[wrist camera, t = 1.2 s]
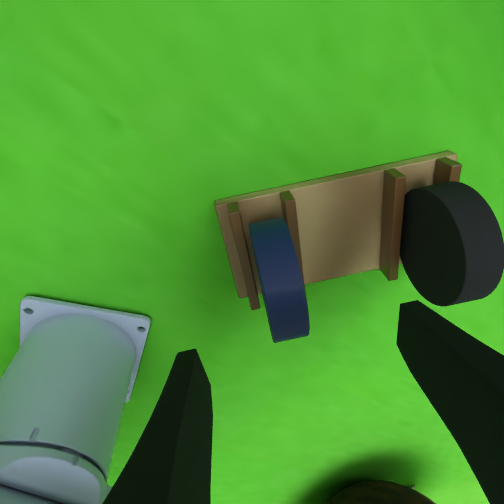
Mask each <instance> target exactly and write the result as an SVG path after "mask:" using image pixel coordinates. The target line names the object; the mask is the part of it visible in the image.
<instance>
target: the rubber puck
mask: <svg viewBox="0 0 504 504" xmlns="http://www.w3.org/2000/svg"><path fill="white" fill-rule="evenodd" d="M400 258H401V261H402V264H403V267H404V269H405V271H406V273H407V275H408V277H409V279H410V281H411V283H412V284H413V286H414V287H415V288H416V290H417V291H418V292H419V293H420V294H421V295H422V296H423V297H424V298H425V299H426V300H427V301H429V302H431V303H432V304H435V305H438V306H449V305H454V304H459V303H463V302H468V301H473V300H478V299H482V298H484V297H486V296H488V295H489V294H491V293H492V292H493V291H494V290H495V288H496V287H497V285H498V284H499V282H500V279H501V277H502V273H503V269H504V242H503V238H502V233H501V230H500V227H499V224H498V221H497V219H496V217H495V215H494V213H493V211H492V210H491V208H490V206H489V205H488V203H487V202H486V201H485V199H484V198H483V197H482V196H481V195H480V194H479V193H478V192H477V191H475V190H474V189H473V188H471V187H470V186H468V185H466V184H463V183H460V182H456V181H448V182H443V183H438V184H434V185H429V186H424V187H419V188H415V189H412V190H410V191H409V192H408V193H406V194H405V198H404V209H403V221H402V232H401V244H400Z"/></svg>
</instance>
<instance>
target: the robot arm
mask: <svg viewBox="0 0 504 504" xmlns="http://www.w3.org/2000/svg"><path fill="white" fill-rule="evenodd" d="M28 308H30V309H32V310H30V309H28ZM150 323H151V320H150V318H149V317H147V316H144V315H138V314H132V313H127V312H121V311H115V310H109V309H104V308H98V307H92V306H87V305H81V304H75V303H69V302H64V301H58V300H52V299H46V298H41V297H35V296H25V297H24V298H23V299H22V301H21V303H20V348H19V350H18V351H17V353H16V355H15V356H14V358H13V359H12V361H11V363H10V364H9V366H8V367H7V369H6V371H5V372H4V374H3V375H2V377H1V378H0V504H210V484H211V455H212V425H213V410H212V396H211V385H210V382H209V380H208V377H207V375H206V372H205V370H204V367H203V365H202V363H201V360H200V358H199V355H198V353H197V350H196V349H192V350H187V351H182V352H178V354H177V355H176V358H175V360H174V363H173V366H172V368H171V371H170V374H169V376H168V379H167V381H166V384H165V386H164V388H163V391H162V393H161V395H160V398H159V400H158V402H157V404H156V406H155V409H154V411H153V413H152V415H151V417H150V420H149V422H148V424H147V426H146V428H145V430H144V431H143V433H142V435H141V437H140V439H139V441H138V443H137V445H136V447H135V449H134V451H133V453H132V455H131V456H130V458H129V460H128V462H127V464H126V465H125V467H124V469H123V470H122V472H121V474H120V476H119V477H118V479H117V481H116V482H115V484H114V486H113V487H111V486H109V485H108V484H107V483H106V482H107V478H108V473H109V469H110V465H111V460H112V456H113V452H114V448H115V443H116V439H117V435H118V430H119V426H120V422H121V418H122V413H123V409H124V405H125V402H128V401H129V400H130V397H131V393H132V390H133V386H134V382H135V379H136V375H137V371H138V368H139V364H140V360H141V357H142V353H143V349H144V345H145V342H146V338H147V334H148V331H149V327H150ZM140 327H144V328H140ZM397 346H398V348H399V350H400V352H401V354H402V356H403V358H404V360H405V362H406V364H407V366H408V368H409V370H410V372H411V373H412V375H413V376H414V378H415V380H416V381H417V383H418V384H419V386H420V387H421V389H422V390H423V392H424V393H425V395H426V396H427V398H428V399H429V401H430V402H431V404H432V405H433V407H434V408H435V410H436V411H437V413H438V414H439V416H440V417H441V419H442V420H443V422H444V423H445V425H446V426H447V428H448V429H449V431H450V432H451V434H452V436H453V437H454V439H455V440H456V442H457V444H458V445H459V447H460V449H461V451H462V452H463V454H464V456H465V458H466V460H467V462H468V463H469V465H470V467H471V469H472V471H473V473H474V474H475V476H476V478H477V480H478V482H479V484H480V486H481V488H482V489H483V491H484V493H485V495H486V497H487V499H488V501H489V503H490V504H504V355H502V354H500V353H498V352H497V351H495V350H493V349H492V348H490V347H489V346H487V345H485V344H484V343H482V342H480V341H479V340H477V339H476V338H474V337H472V336H471V335H469V334H468V333H466V332H465V331H463V330H462V329H460V328H459V327H457V326H455V325H454V324H452V323H451V322H449V321H448V320H446V319H445V318H443V317H442V316H440V315H439V314H438V313H436V312H435V311H433V310H432V309H430V308H429V307H427V306H426V305H424V304H423V303H421V302H420V301H418V300H416V301H411V302H407V303H402V304H400V311H399V322H398V333H397Z"/></svg>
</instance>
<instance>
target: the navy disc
mask: <svg viewBox="0 0 504 504" xmlns="http://www.w3.org/2000/svg"><path fill="white" fill-rule="evenodd" d="M248 227H249V232H250V237H251V242H252V247H253V252H254V257H255V262H256V267H257V271H258V276H259V281H260V285H261V290H262V295H263V299H264V304H265V308H266V313H267V317H268V322H269V326H270V330H271V335H272V339H273V342H274V343H277V342H281V341H286V340H291V339H295V338H300V337H305V336H308V335H309V330H310V325H309V313H308V306H307V300H306V294H305V289H304V284H303V279H302V274H301V270H300V266H299V262H298V258H297V254H296V251H295V247H294V244H293V241H292V238H291V235H290V232H289V229H288V227H287V224H286V222H285V221H284V219H283V218H282V217H278V218H273V219H269V220H264V221H259V222H254V223H250V224H248Z"/></svg>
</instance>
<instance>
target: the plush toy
mask: <svg viewBox="0 0 504 504" xmlns="http://www.w3.org/2000/svg"><path fill="white" fill-rule="evenodd" d="M414 486H415V484H414V485H412V486H410V487H406V486H404V485H401V484H397V483H394V482H388V481H380V480H378V481H364V482H360V483H356V484H353V485H351V486H348V487H346V488H344V489H343V490H341V491H340V492H338V493H337V494H335V495H334V496H333V497H332V498H331V499H330V500H329V501H328V502H327V503H326V504H436V503H434V502H433V501H432V500H430V499H429V498H428V497H426V496H424V495H423V494H421V493H419V492H417V491H416V490H414Z"/></svg>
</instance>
